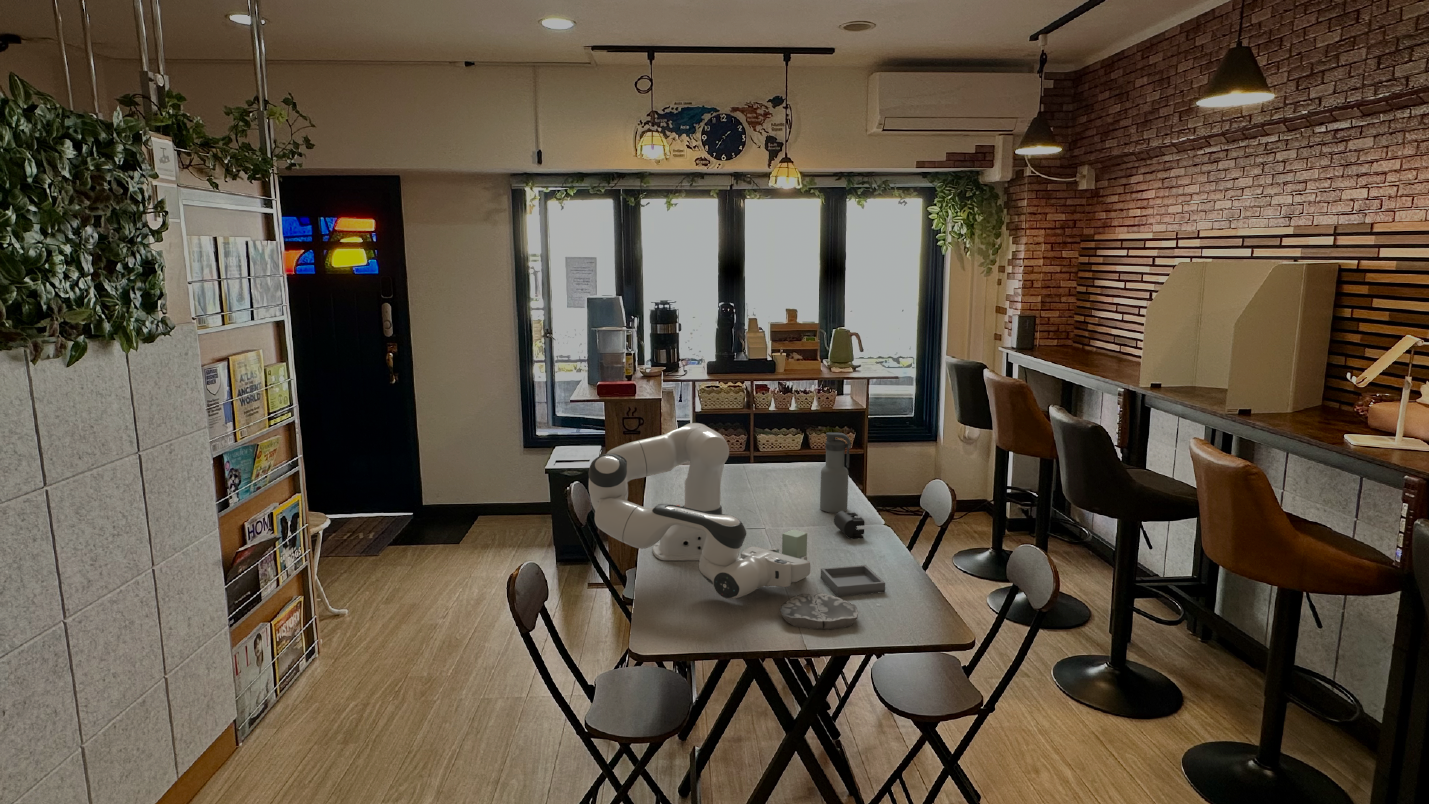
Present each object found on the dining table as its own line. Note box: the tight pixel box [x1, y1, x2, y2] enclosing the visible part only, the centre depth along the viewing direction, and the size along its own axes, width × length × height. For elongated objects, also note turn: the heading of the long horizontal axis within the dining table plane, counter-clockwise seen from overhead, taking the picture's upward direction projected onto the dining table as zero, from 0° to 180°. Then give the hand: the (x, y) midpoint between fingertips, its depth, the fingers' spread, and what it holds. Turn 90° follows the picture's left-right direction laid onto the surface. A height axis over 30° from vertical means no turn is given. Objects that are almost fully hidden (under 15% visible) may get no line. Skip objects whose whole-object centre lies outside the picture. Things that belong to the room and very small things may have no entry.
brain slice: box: [779, 593, 859, 630], centre depth 213 cm, size 20×17×3 cm
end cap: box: [833, 511, 866, 540], centre depth 276 cm, size 10×7×7 cm
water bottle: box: [819, 431, 852, 514], centre depth 302 cm, size 10×10×28 cm
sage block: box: [781, 528, 808, 558], centre depth 239 cm, size 5×5×13 cm
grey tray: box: [820, 564, 886, 598], centre depth 234 cm, size 14×14×3 cm
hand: (790, 554), depth 237 cm, fingers open, 8 cm apart
